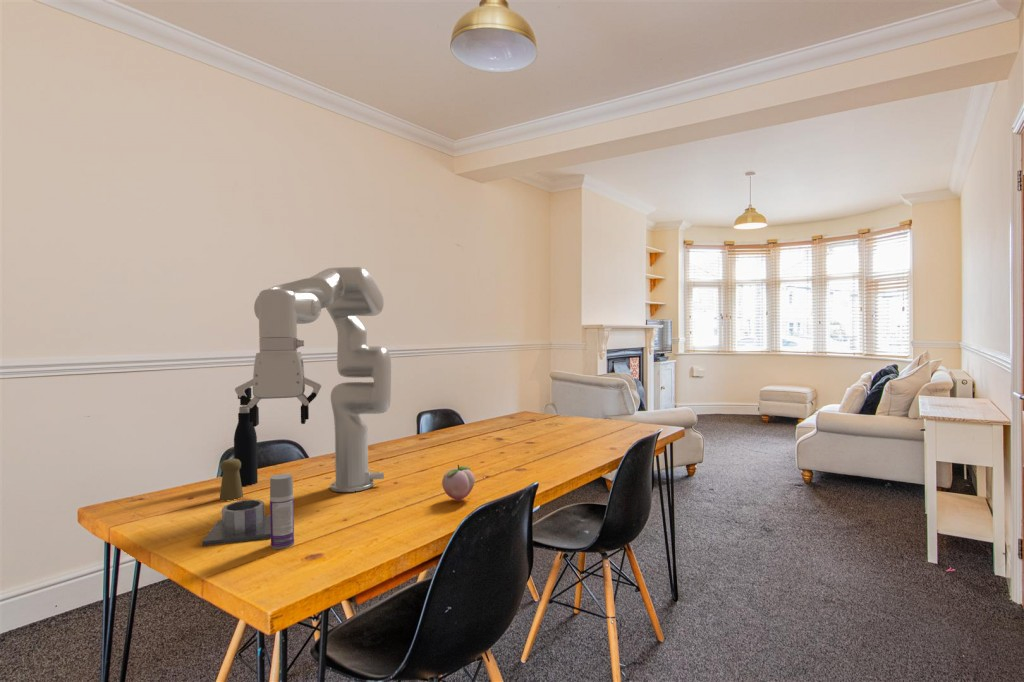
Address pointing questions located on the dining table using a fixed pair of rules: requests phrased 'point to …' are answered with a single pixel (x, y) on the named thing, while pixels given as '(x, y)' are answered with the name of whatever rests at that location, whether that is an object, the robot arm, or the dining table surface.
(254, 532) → the duct collar
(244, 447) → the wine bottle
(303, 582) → the dining table surface
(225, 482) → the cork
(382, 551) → the dining table surface
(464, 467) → the decorative fruit
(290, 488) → the container
